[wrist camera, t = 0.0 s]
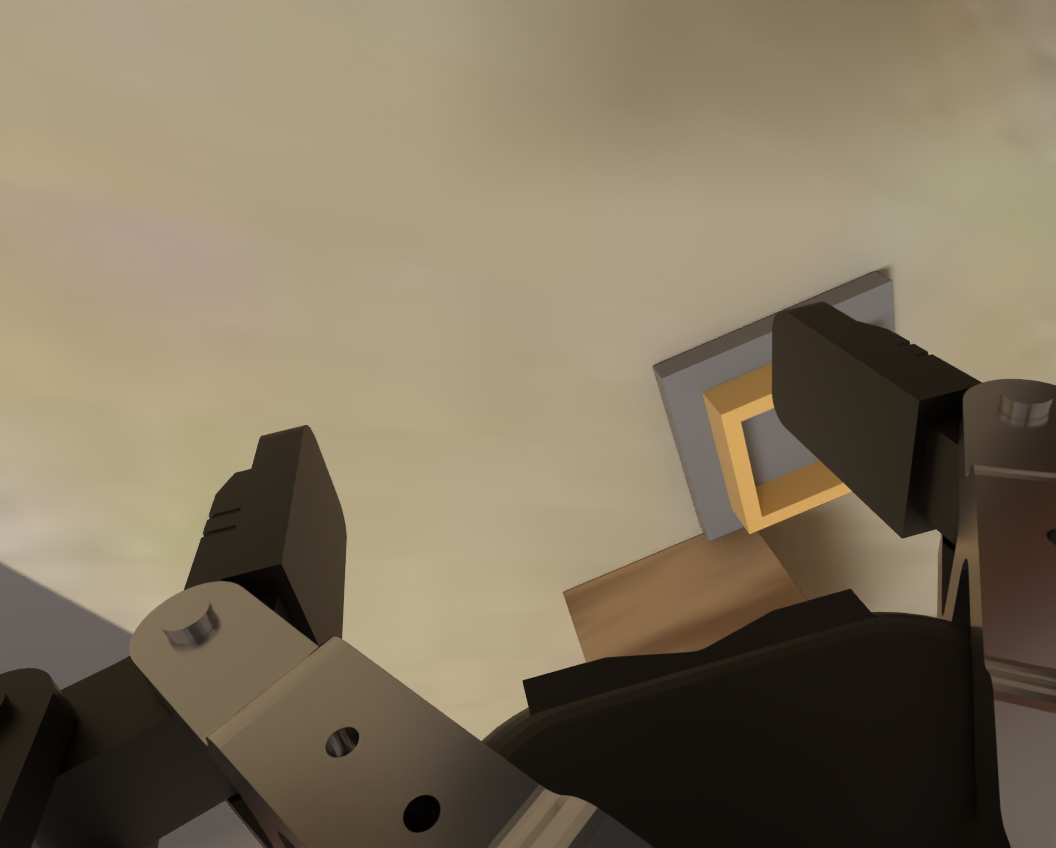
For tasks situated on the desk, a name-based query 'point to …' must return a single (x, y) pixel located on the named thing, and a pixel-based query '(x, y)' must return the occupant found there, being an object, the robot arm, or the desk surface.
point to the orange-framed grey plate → (752, 421)
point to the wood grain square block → (681, 597)
